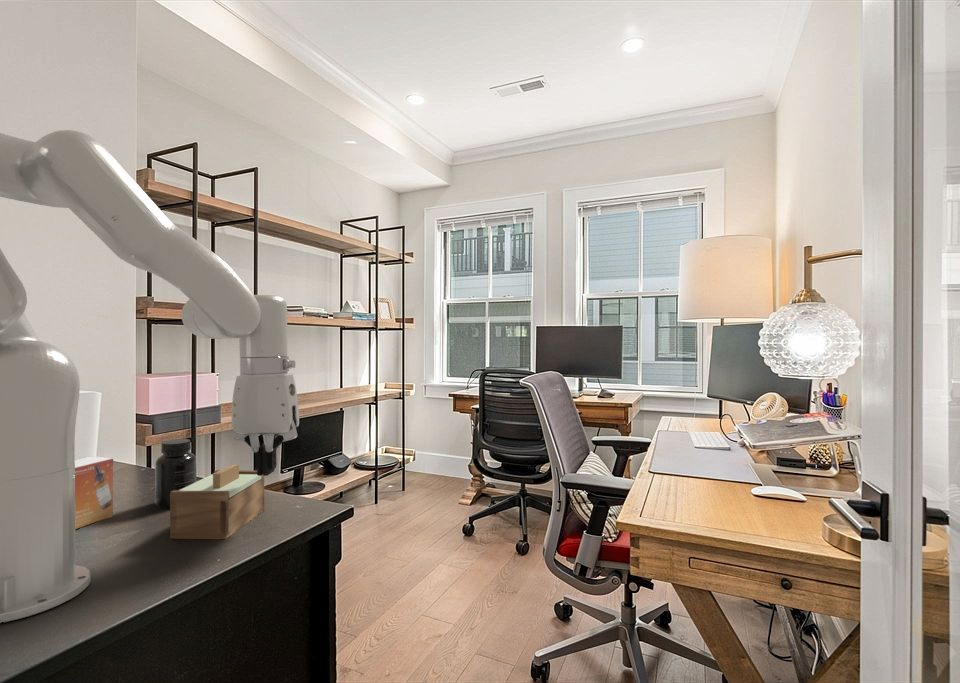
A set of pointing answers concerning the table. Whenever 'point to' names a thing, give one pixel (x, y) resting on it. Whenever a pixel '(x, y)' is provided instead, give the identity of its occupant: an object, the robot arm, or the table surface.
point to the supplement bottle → (173, 470)
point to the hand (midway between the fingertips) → (266, 473)
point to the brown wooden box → (214, 511)
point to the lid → (225, 481)
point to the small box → (93, 490)
